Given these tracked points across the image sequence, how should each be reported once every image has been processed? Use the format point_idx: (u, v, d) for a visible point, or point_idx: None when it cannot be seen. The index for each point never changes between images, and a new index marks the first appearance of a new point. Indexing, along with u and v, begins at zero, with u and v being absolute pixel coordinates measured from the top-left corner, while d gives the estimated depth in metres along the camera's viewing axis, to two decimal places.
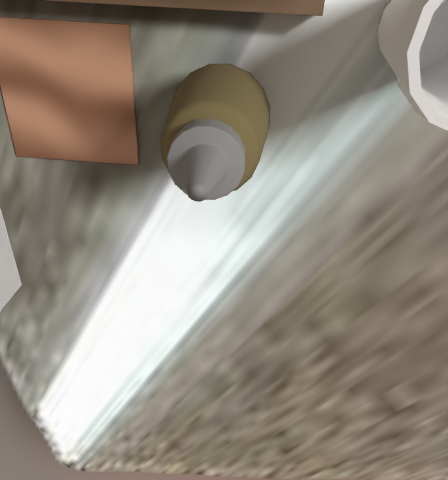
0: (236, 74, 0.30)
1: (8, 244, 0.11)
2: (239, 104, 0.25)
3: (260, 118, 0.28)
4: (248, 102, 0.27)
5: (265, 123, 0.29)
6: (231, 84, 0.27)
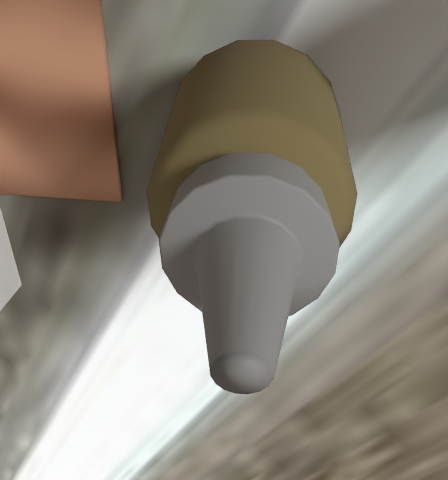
0: (289, 57, 0.16)
1: (8, 244, 0.11)
2: (316, 116, 0.12)
3: (344, 141, 0.14)
4: (325, 111, 0.13)
5: None
6: (287, 75, 0.14)
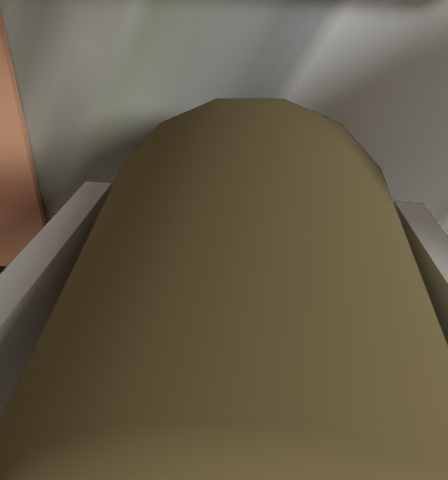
0: (314, 140, 0.08)
1: None
2: (423, 405, 0.04)
3: None
4: (414, 310, 0.05)
5: None
6: (319, 207, 0.06)
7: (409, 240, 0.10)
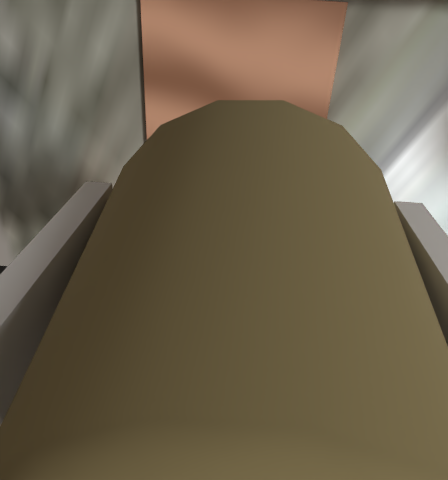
0: (314, 142, 0.08)
1: None
2: (424, 407, 0.04)
3: None
4: (415, 312, 0.05)
5: None
6: (319, 209, 0.06)
7: (409, 240, 0.10)
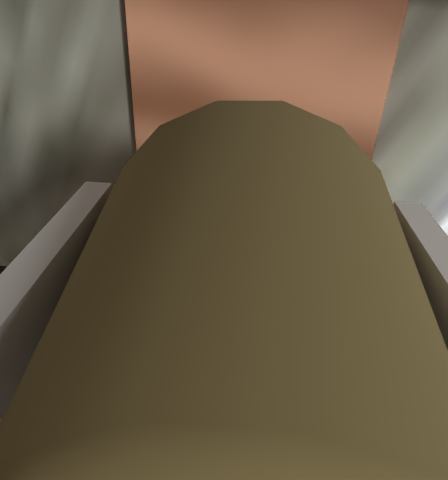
0: (313, 142, 0.08)
1: None
2: (422, 407, 0.04)
3: None
4: (413, 313, 0.05)
5: None
6: (318, 210, 0.06)
7: (409, 240, 0.10)
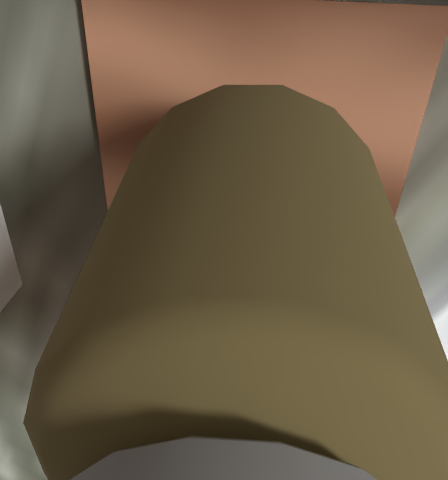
0: (309, 118, 0.10)
1: (9, 244, 0.11)
2: (388, 299, 0.05)
3: None
4: (389, 247, 0.07)
5: None
6: (312, 167, 0.07)
7: None
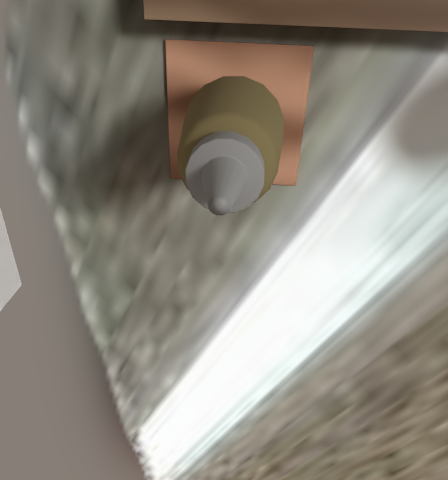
0: (251, 86, 0.29)
1: (8, 244, 0.11)
2: (257, 116, 0.25)
3: (277, 130, 0.27)
4: (265, 114, 0.26)
5: (281, 135, 0.28)
6: (247, 96, 0.27)
7: None
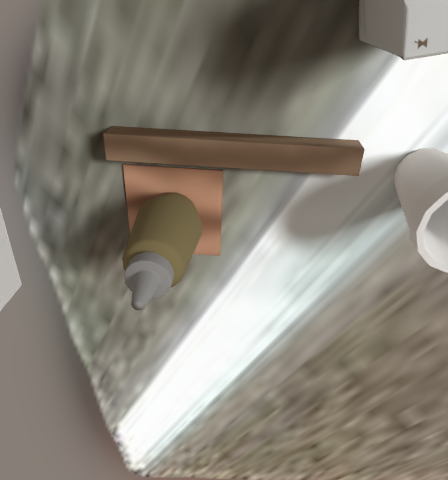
0: (174, 207, 0.45)
1: (8, 244, 0.11)
2: (170, 239, 0.41)
3: (187, 241, 0.43)
4: (178, 233, 0.42)
5: (192, 240, 0.44)
6: (168, 220, 0.43)
7: None
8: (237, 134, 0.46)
